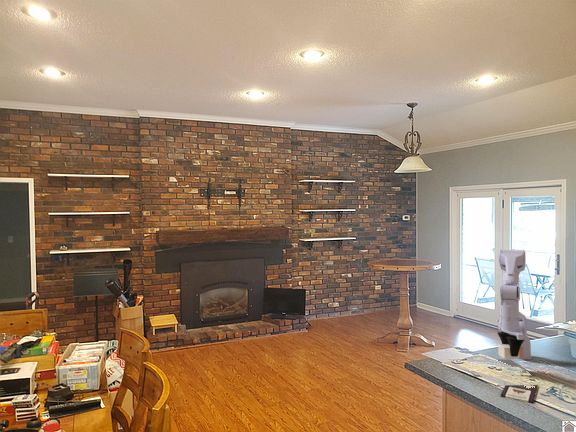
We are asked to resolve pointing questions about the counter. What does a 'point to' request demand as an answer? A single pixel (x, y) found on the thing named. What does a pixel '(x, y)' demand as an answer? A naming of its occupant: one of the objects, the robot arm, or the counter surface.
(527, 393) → the chocolate bar
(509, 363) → the mat
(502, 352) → the card box
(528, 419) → the counter surface
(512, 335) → the robot arm
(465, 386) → the counter surface
